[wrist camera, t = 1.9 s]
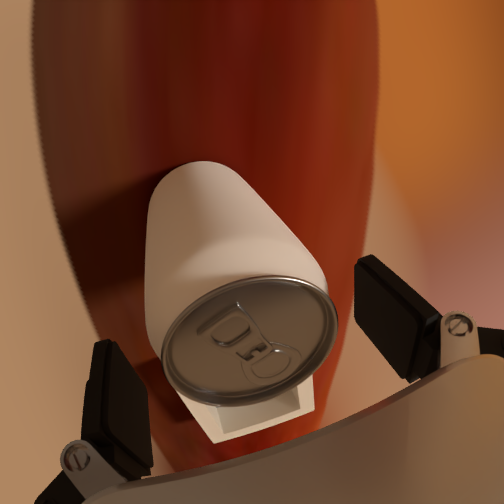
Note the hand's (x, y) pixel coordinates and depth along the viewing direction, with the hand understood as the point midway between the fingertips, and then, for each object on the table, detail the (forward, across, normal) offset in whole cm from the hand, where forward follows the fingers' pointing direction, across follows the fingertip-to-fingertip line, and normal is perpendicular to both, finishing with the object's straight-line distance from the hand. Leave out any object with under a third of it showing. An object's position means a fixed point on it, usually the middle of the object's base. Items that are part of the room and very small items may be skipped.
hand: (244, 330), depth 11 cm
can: (+10, 0, -1) cm, 10 cm away
